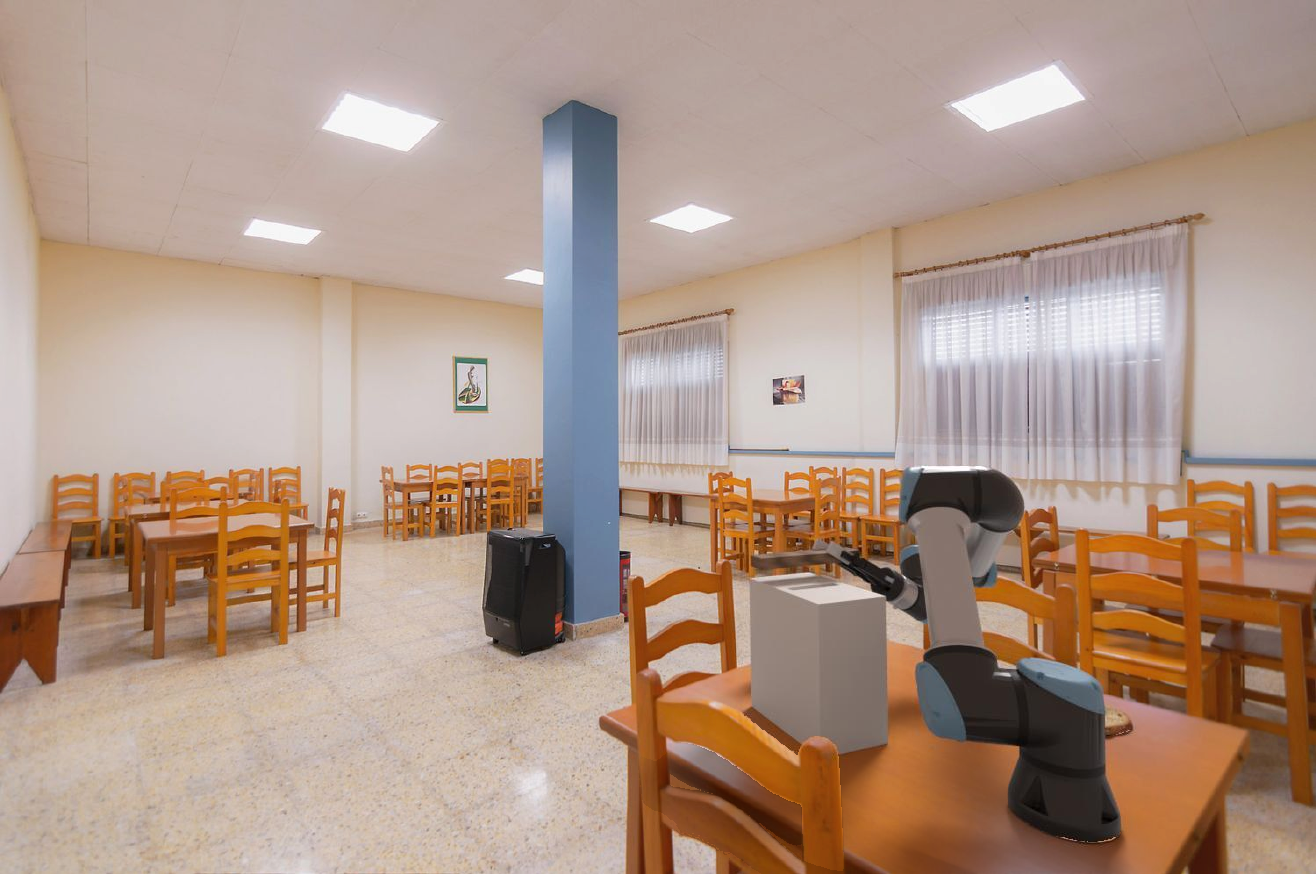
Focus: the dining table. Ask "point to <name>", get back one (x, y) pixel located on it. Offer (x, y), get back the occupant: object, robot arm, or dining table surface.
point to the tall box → (820, 659)
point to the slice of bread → (1116, 721)
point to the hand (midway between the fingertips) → (822, 545)
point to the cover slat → (795, 559)
